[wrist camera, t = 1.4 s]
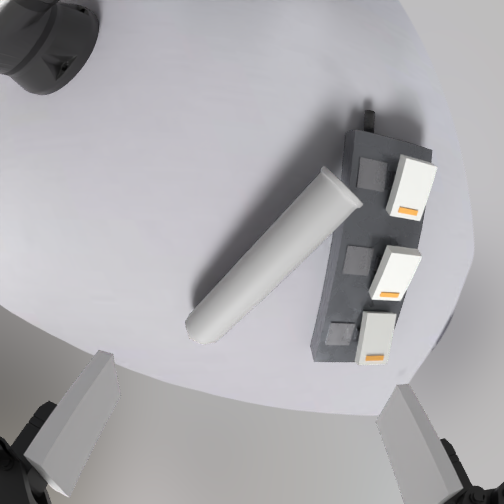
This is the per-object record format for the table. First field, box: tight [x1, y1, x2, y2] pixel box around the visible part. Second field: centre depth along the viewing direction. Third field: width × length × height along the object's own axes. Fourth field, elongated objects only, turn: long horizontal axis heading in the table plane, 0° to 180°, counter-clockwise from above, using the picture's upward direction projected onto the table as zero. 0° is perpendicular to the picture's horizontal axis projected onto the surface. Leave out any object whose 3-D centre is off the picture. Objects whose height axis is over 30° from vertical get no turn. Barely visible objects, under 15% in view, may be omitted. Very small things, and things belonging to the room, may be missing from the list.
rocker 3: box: [355, 311, 396, 365], centre depth 31 cm, size 6×4×2 cm, turn 175°
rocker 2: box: [369, 245, 422, 301], centre depth 28 cm, size 6×4×2 cm, turn 175°
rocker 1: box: [386, 154, 437, 221], centre depth 25 cm, size 6×4×2 cm, turn 175°
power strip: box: [310, 110, 432, 362], centre depth 31 cm, size 31×10×4 cm, turn 175°
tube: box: [185, 166, 363, 345], centre depth 30 cm, size 5×5×25 cm
